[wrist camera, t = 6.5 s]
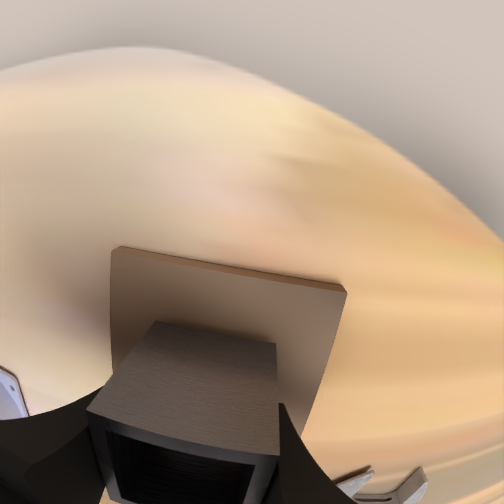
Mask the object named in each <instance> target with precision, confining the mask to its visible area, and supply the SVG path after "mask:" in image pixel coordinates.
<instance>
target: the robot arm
mask: <svg viewBox="0 0 504 504" xmlns="http://www.w3.org/2000/svg"><path fill="white" fill-rule="evenodd" d="M102 388H103V386H102V387H101V388H99V389H97V390H96V391H94V392H92V393H90V394H89V395H87V396H85V397H83V398H81V399H79V400H77V401H75V402H73V403H70V404H68V405H66V406H63V407H60V408H58V409H55V410H52V411H49V412H45V413H41V414H37V415H33V416H29V417H28V414H27V411H26V408H25V405H24V402H23V399H22V396H21V392H20V389H19V386H18V382H17V380H16V379H15V377H14V376H12V375H10V374H9V373H7V372H5V371H3V370H2V369H0V504H99V502H100V499H101V497H102V494H103V491H104V488H105V483H104V479H103V476H102V473H101V470H100V466H99V463H98V459H97V456H96V452H95V448H94V444H93V440H92V436H91V432H90V428H89V423H88V419H87V414H86V409H87V407H88V406H89V405H90V403H91V402H92V401H93V399H94V398H95V397H96V396H97V394H98V393H99V392H100V390H101V389H102ZM278 406H279V441H280V457H279V459H278V462H277V464H276V467H275V470H274V472H273V475H272V477H271V480H270V482H269V485H268V487H267V489H266V492H265V494H264V497H263V499H262V501H261V504H358V503H356V502H355V501H354V500H352V499H351V498H350V497H349V496H347V495H346V494H345V493H344V492H343V491H342V490H341V489H340V488H339V487H338V486H336V485H335V484H334V483H333V482H332V481H331V479H330V478H329V477H328V476H327V475H326V474H325V473H324V472H323V470H322V469H321V468H320V467H319V465H318V464H317V463H316V461H315V460H314V459H313V457H312V456H311V454H310V453H309V451H308V450H307V448H306V447H305V445H304V443H303V442H302V440H301V438H300V436H299V435H298V433H297V431H296V429H295V427H294V425H293V423H292V421H291V419H290V416H289V414H288V412H287V409H286V406H285V405H284V403H278Z"/></svg>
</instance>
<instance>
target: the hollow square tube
mask: <svg viewBox="0 0 504 504" xmlns="http://www.w3.org/2000/svg"><path fill="white" fill-rule="evenodd" d="M86 414H87V419H88V423H89V428H90V432H91V436H92V440H93V444H94V448H95V452H96V456H97V459H98V463H99V466H100V470H101V473H102V476H103V479H104V483H105V486H106V489H107V492H108V495H109V497H110V500H113V501H115V502H118V503H121V504H261V501H262V499H263V497H264V494H265V492H266V489H267V487H268V485H269V482H270V480H271V477H272V475H273V472H274V470H275V467H276V464H277V462H278V459H279V457H280V441H279V406H278V376H277V350H276V343H272V342H266V341H259V340H253V339H247V338H241V337H236V336H230V335H225V334H219V333H214V332H209V331H204V330H199V329H194V328H189V327H184V326H180V325H175V324H170V323H166V322H161V321H157V320H155V322H154V323H153V324H152V325H151V326H150V328H149V329H148V330H147V331H146V333H145V334H144V335H143V337H142V338H141V339H140V340H139V342H138V343H137V344H136V345H135V347H134V348H133V349H132V350H131V352H130V353H129V354H128V355H127V357H126V358H125V359H124V361H123V362H122V363H121V364H120V366H119V367H118V368H117V370H116V371H115V372H114V373H113V375H112V376H111V377H110V379H109V380H108V381H107V382H106V384H105V385H104V386H103V388H102V389H101V390H100V392H99V393H98V394H97V396H96V397H95V398H94V399H93V401H92V402H91V403H90V405H89V406H88V407H87V409H86Z"/></svg>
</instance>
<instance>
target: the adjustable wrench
mask: <svg viewBox="0 0 504 504" xmlns="http://www.w3.org/2000/svg"><path fill="white" fill-rule="evenodd" d="M374 474H375V472H374V470H371V471H368V472H366V473H363V474H361V475H358V476H355V477H353V478H350V479H348V480H345V481H343V482H340V483H338V484H336V486H338V487H339V488H340V489H341V490H342V491H343V492H344V493H345V494H346V495H347V496H349V497H350V498H351V499H352V500H354V501H355V502H356V503H358V504H416V503H417V502H418V501H419V500H420V499H421V497H422V496H423V494H424V493H425V490H426V488H427V485H428V480H427V478H426V475H425V473H424V471H423V469H422V467H419V468H418V469H417V470H416V471H415V472H414V473H413V475H412V476H411V477H410V478H409V479H408V480H407V481H406V482H405V483H404V484H403V485H401V486H400V487H399V488H398V489H397V490H396V491H395V492H391V493H388V494H385V495H364V494H355V493H356V492H357V491H358V490H359V489H360V488H361V487H362V486H363V485H364V484H365V483H366V482H367V481H368V480H369V479H370V478H371V477H372V476H373V475H374Z"/></svg>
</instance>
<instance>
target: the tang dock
mask: <svg viewBox="0 0 504 504" xmlns="http://www.w3.org/2000/svg"><path fill="white" fill-rule="evenodd" d="M346 296H347V292H346V290H345V289H344V287H343V286H342V285H337V284H331V283H324V282H318V281H312V280H306V279H300V278H294V277H288V276H282V275H276V274H270V273H264V272H259V271H253V270H247V269H241V268H236V267H230V266H224V265H219V264H213V263H207V262H202V261H196V260H191V259H185V258H180V257H175V256H169V255H164V254H158V253H153V252H148V251H142V250H137V249H132V248H127V247H119V248H117V249H115V250H113V251H112V252H111V277H110V328H111V352H112V368H113V373H114V372H115V371H116V370H117V368H118V367H119V366H120V364H121V363H122V362H123V361H124V359H125V358H126V357H127V355H128V354H129V353H130V352H131V350H132V349H133V348H134V347H135V345H136V344H137V343H138V342H139V340H140V339H141V338H142V337H143V335H144V334H145V333H146V331H147V330H148V329H149V328H150V326H151V325H152V324H153V323H154V322H155V320H157V321H161V322H166V323H170V324H175V325H180V326H184V327H189V328H194V329H199V330H204V331H209V332H214V333H219V334H225V335H230V336H236V337H241V338H247V339H253V340H259V341H266V342H272V343H276V350H277V376H278V403H284V405H285V406H286V409H287V412H288V414H289V416H290V419H291V421H292V423H293V425H294V427H295V429H296V431H297V433H298V435H299V436H300V437H301V434H302V432H303V429H304V427H305V424H306V421H307V419H308V416H309V413H310V411H311V408H312V405H313V403H314V400H315V397H316V394H317V391H318V388H319V386H320V383H321V380H322V377H323V374H324V371H325V368H326V365H327V361H328V358H329V355H330V352H331V349H332V346H333V342H334V339H335V336H336V332H337V329H338V325H339V322H340V318H341V315H342V311H343V308H344V304H345V300H346Z"/></svg>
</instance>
